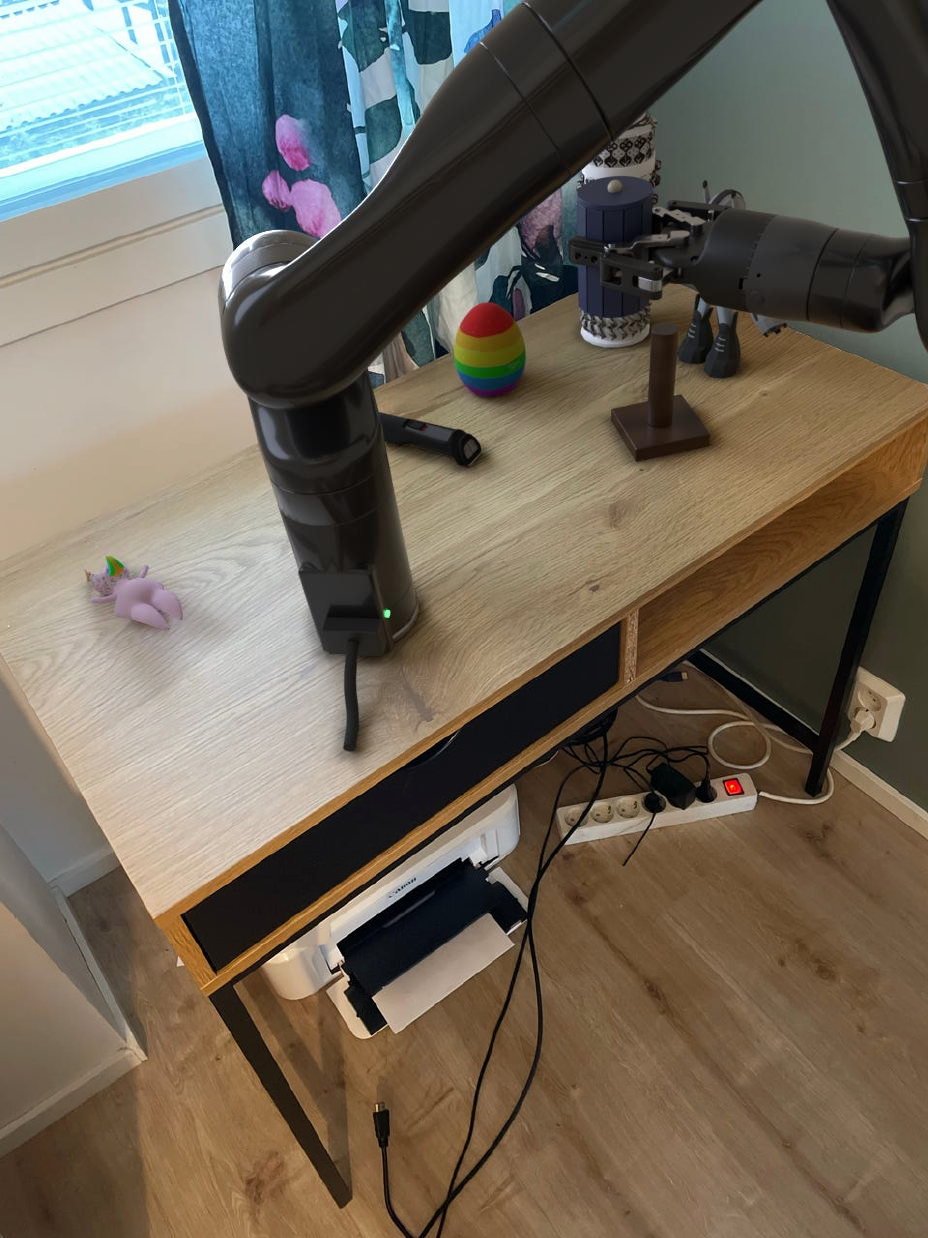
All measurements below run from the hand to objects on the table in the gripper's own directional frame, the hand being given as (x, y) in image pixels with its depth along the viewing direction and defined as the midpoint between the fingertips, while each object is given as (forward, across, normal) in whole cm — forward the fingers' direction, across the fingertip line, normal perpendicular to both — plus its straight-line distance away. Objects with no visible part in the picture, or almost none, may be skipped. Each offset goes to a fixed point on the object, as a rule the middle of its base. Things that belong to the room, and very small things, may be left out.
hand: (591, 232), depth 80 cm
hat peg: (-6, -4, +22) cm, 23 cm away
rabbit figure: (+23, +44, +22) cm, 54 cm away
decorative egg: (+16, -4, +22) cm, 28 cm away
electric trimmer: (+16, +10, +22) cm, 29 cm away
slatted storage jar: (-2, 0, +6) cm, 6 cm away
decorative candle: (+10, -21, +22) cm, 32 cm away
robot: (-4, -20, +22) cm, 30 cm away
